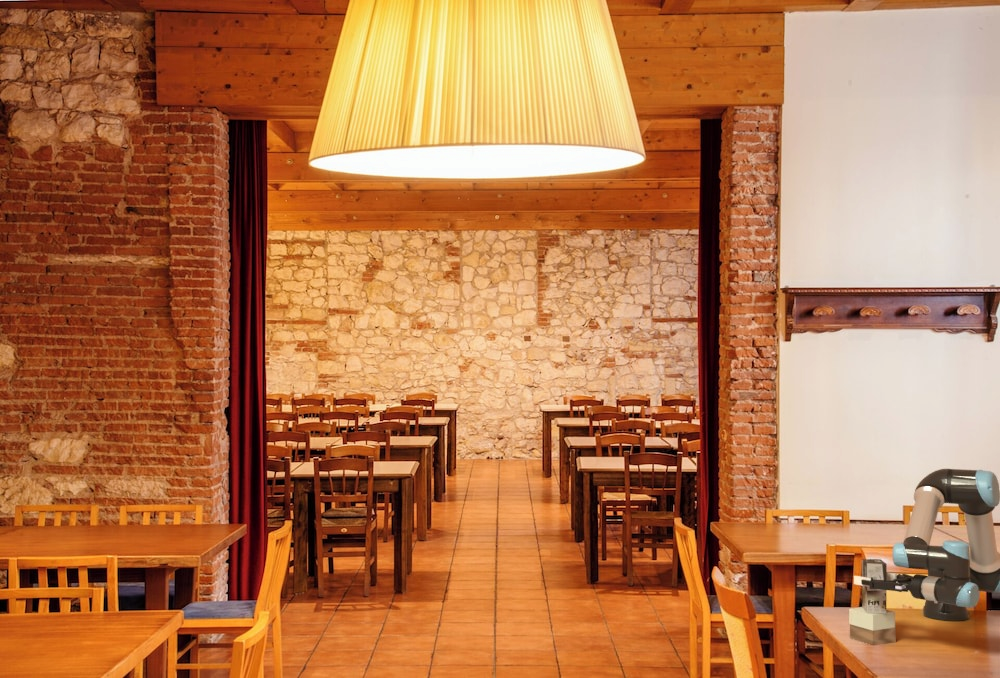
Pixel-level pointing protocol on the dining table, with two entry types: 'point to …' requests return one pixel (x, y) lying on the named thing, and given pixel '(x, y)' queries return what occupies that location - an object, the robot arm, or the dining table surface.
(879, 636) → the tower base
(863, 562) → the coffee box
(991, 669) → the dining table surface
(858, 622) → the tower top
